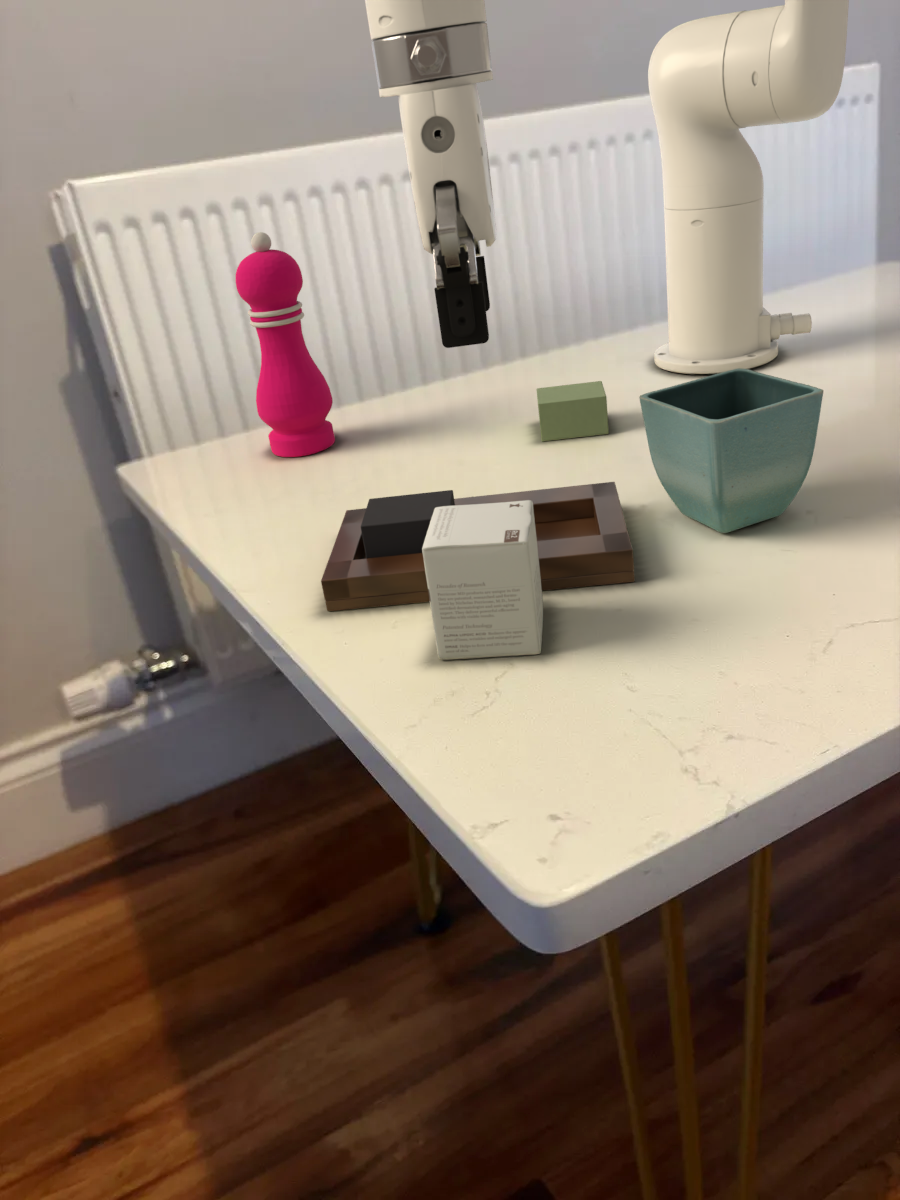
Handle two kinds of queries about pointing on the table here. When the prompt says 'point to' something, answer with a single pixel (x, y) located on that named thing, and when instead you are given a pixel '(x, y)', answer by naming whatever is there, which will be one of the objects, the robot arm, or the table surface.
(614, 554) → the wooden tray
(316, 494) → the table surface
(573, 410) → the green rectangular block
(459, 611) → the product carton
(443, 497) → the black block
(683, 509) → the flower pot
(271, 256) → the pepper mill
